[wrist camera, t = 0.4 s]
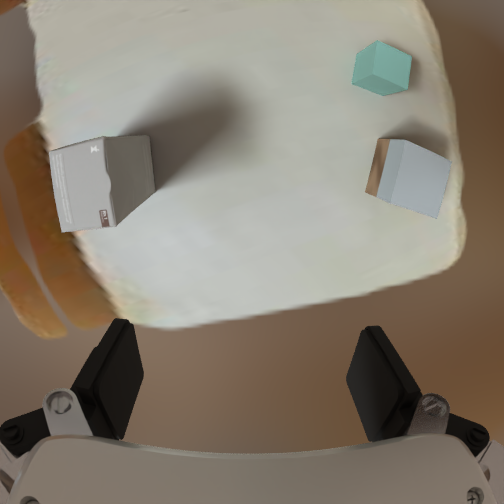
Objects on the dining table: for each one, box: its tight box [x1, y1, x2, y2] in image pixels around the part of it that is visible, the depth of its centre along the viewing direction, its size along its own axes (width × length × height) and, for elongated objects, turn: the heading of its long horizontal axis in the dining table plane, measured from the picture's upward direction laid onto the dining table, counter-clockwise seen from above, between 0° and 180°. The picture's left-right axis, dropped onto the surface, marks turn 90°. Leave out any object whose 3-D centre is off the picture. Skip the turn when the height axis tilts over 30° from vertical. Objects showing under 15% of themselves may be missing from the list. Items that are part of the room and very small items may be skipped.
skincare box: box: [49, 135, 156, 232], centre depth 29 cm, size 8×7×16 cm
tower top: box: [376, 139, 452, 219], centre depth 32 cm, size 8×8×4 cm
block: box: [352, 40, 412, 96], centre depth 29 cm, size 5×5×7 cm
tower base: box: [365, 139, 390, 197], centre depth 36 cm, size 8×8×4 cm
